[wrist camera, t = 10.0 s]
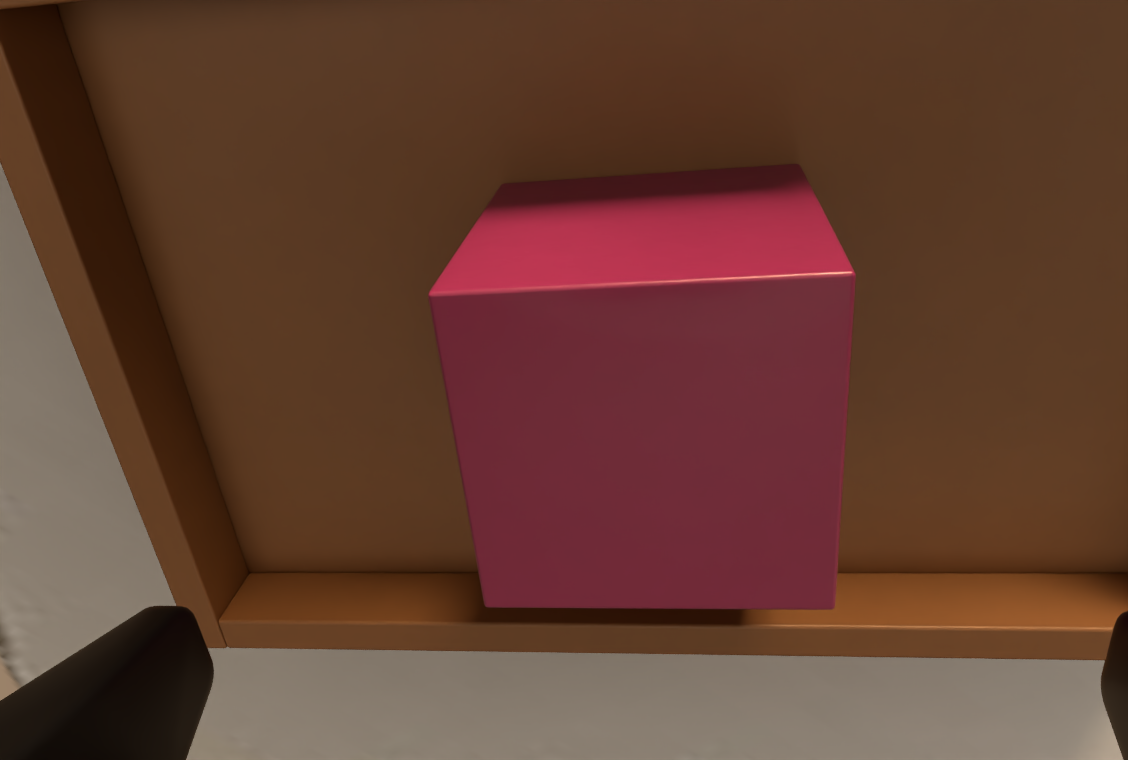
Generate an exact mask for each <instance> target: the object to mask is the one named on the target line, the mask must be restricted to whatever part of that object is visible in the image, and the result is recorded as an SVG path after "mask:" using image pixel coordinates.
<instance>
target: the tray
mask: <svg viewBox="0 0 1128 760" xmlns="http://www.w3.org/2000/svg"><path fill="white" fill-rule="evenodd" d="M0 162H1V165H2V167H3V170H4V172H5V175H6V178H7V180H8V183H9V185H10V188H11V190H12V193H13V195H14V198H15V200H16V203H17V205H18V208H19V210H20V213H21V215H22V218H23V220H24V223H25V225H26V228H27V230H28V233H29V235H30V238H31V240H32V243H33V245H34V248H35V250H36V253H37V256H38V258H39V261H40V263H41V266H42V268H43V271H44V273H45V276H46V278H47V281H48V283H49V286H50V288H51V291H52V293H53V296H54V298H55V301H56V303H57V306H58V308H59V311H60V313H61V316H62V318H63V321H64V323H65V326H66V328H67V331H68V334H69V336H70V339H71V341H72V344H73V346H74V349H75V351H76V354H77V356H78V359H79V361H80V364H81V366H82V369H83V371H84V374H85V376H86V379H87V381H88V384H89V386H90V389H91V391H92V394H93V396H94V399H95V401H96V404H97V406H98V409H99V412H100V414H101V417H102V419H103V422H104V424H105V427H106V429H107V432H108V434H109V437H110V439H111V442H112V444H113V447H114V449H115V452H116V454H117V457H118V459H119V462H120V464H121V467H122V469H123V472H124V474H125V477H126V479H127V482H128V484H129V487H130V490H131V492H132V495H133V497H134V500H135V502H136V505H137V507H138V510H139V512H140V515H141V517H142V520H143V522H144V525H145V527H146V530H147V532H148V535H149V537H150V540H151V542H152V545H153V547H154V550H155V552H156V555H157V557H158V560H159V562H160V565H161V568H162V570H163V573H164V575H165V578H166V580H167V583H168V585H169V588H170V590H171V593H172V595H173V598H174V600H175V603H176V605H177V606H183V607H186V608H188V609H189V610H191V611H192V612H193V614H194V616H195V618H196V620H197V623H198V625H199V628H200V630H201V633H202V636H203V638H204V641H205V643H206V646H207V648H226V647H227V646H228V647H230V648H287V649H357V650H427V651H498V652H568V653H638V654H708V655H778V656H848V657H919V658H989V659H1059V660H1106V656H1107V652H1108V648H1109V644H1110V640H1111V636H1112V633H1113V629H1114V625H1115V622H1116V620H1117V618H1118V617H1119V616H1120V614H1122V613H1123V612H1126V611H1128V0H0ZM786 164H799V165H800V166H801V168H802V170H803V172H804V174H805V176H806V178H807V180H808V182H809V184H810V186H811V188H812V190H813V191H814V193H815V195H816V197H817V199H818V201H819V203H820V205H821V207H822V209H823V211H824V213H825V215H826V217H827V219H828V221H829V223H830V225H831V227H832V229H833V231H834V233H835V234H836V236H837V238H838V240H839V242H840V244H841V246H842V248H843V250H844V252H845V254H846V256H847V258H848V260H849V262H850V264H851V266H852V268H853V270H854V272H855V274H856V281H855V297H854V314H853V330H852V346H851V362H850V378H849V394H848V410H847V426H846V442H845V458H844V474H843V490H842V506H841V522H840V538H839V554H838V570H837V587H836V603H835V607H834V609H832V610H790V609H637V608H488V607H486V606H485V605H484V600H483V595H482V589H481V584H480V578H479V573H478V567H477V562H476V556H475V551H474V545H473V540H472V534H471V529H470V523H469V518H468V512H467V507H466V501H465V496H464V491H463V485H462V480H461V474H460V469H459V463H458V458H457V452H456V447H455V441H454V436H453V430H452V425H451V419H450V414H449V408H448V403H447V397H446V392H445V386H444V381H443V376H442V370H441V365H440V359H439V354H438V348H437V343H436V337H435V332H434V326H433V321H432V315H431V310H430V304H429V299H428V294H429V291H430V290H431V288H432V287H433V285H434V284H435V282H436V281H437V279H438V278H439V276H440V275H441V273H442V272H443V270H444V269H445V267H446V266H447V265H448V263H449V262H450V260H451V259H452V257H453V256H454V254H455V253H456V251H457V250H458V248H459V247H460V245H461V244H462V242H463V241H464V239H465V238H466V236H467V235H468V233H469V232H470V230H471V229H472V227H473V226H474V224H475V223H476V221H477V220H478V218H479V217H480V215H481V214H482V212H483V211H484V209H485V208H486V206H487V205H488V203H489V202H490V201H491V199H492V198H493V196H494V195H495V193H496V192H497V190H498V189H499V187H500V186H501V185H502V184H505V183H520V182H535V181H550V180H564V179H579V178H594V177H609V176H623V175H638V174H653V173H668V172H683V171H697V170H712V169H727V168H742V167H757V166H771V165H786Z"/></svg>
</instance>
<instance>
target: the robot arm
mask: <svg viewBox="0 0 1128 760" xmlns="http://www.w3.org/2000/svg"><path fill="white" fill-rule="evenodd" d="M213 676H214V669H213V662H212V659H211V656H210V654H209V651H208V648H207V646H206V643H205V641H204V638H203V636H202V633H201V630H200V628H199V625H198V623H197V620H196V618H195V616H194V614H193V612H192V611H191V610H189V609H188V608H186V607H183V606H153V607H148V608H146V609H144V610H142V611H141V612H139V613H137V614H136V615H134V616H133V617H131V618H130V619H128V620H126V621H125V622H123V623H122V624H120V625H119V626H117V627H115V628H114V629H112V630H111V631H109V632H108V633H106V634H104V635H103V636H101V637H100V638H98V639H97V640H95V641H93V642H92V643H90V644H89V645H87V646H86V647H84V648H83V649H81V650H79V651H78V652H76V653H75V654H73V655H72V656H70V657H68V658H67V659H65V660H64V661H62V662H61V663H59V664H57V665H56V666H54V667H53V668H51V669H50V670H48V671H46V672H45V673H43V674H42V675H40V676H39V677H37V678H35V679H34V680H32V681H31V682H29V683H28V684H26V685H25V686H23V687H21V688H20V689H18V690H17V691H15V692H14V693H12V694H11V695H9V696H7V697H6V698H4V699H3V700H1V701H0V760H186V758H187V755H188V752H189V749H190V747H191V744H192V741H193V738H194V735H195V733H196V730H197V727H198V724H199V721H200V718H201V716H202V713H203V710H204V707H205V704H206V702H207V699H208V696H209V693H210V690H211V687H212V683H213ZM1101 692H1102V697H1103V702H1104V705H1105V708H1106V711H1107V714H1108V717H1109V719H1110V722H1111V725H1112V728H1113V731H1114V734H1115V736H1116V739H1117V742H1118V745H1119V748H1120V751H1121V753H1122V756H1123V759H1124V760H1128V611H1126V612H1123V613H1122V614H1120V616H1119V617H1118V618H1117V620H1116V622H1115V625H1114V629H1113V633H1112V636H1111V640H1110V644H1109V648H1108V652H1107V656H1106V660H1105V663H1104V667H1103V671H1102V676H1101Z"/></svg>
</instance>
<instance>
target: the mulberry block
mask: <svg viewBox="0 0 1128 760" xmlns="http://www.w3.org/2000/svg"><path fill="white" fill-rule="evenodd" d="M855 281H856V274H855V272H854V270H853V268H852V266H851V264H850V262H849V260H848V258H847V256H846V254H845V252H844V250H843V248H842V246H841V244H840V242H839V240H838V238H837V236H836V234H835V233H834V231H833V229H832V227H831V225H830V223H829V221H828V219H827V217H826V215H825V213H824V211H823V209H822V207H821V205H820V203H819V201H818V199H817V197H816V195H815V193H814V191H813V190H812V188H811V186H810V184H809V182H808V180H807V178H806V176H805V174H804V172H803V170H802V168H801V166H800V165H799V164H786V165H771V166H757V167H742V168H727V169H712V170H697V171H683V172H668V173H653V174H638V175H623V176H609V177H594V178H579V179H564V180H550V181H535V182H520V183H505V184H502V185H501V186H500V187H499V189H498V190H497V192H496V193H495V195H494V196H493V198H492V199H491V201H490V202H489V203H488V205H487V206H486V208H485V209H484V211H483V212H482V214H481V215H480V217H479V218H478V220H477V221H476V223H475V224H474V226H473V227H472V229H471V230H470V232H469V233H468V235H467V236H466V238H465V239H464V241H463V242H462V244H461V245H460V247H459V248H458V250H457V251H456V253H455V254H454V256H453V257H452V259H451V260H450V262H449V263H448V265H447V266H446V267H445V269H444V270H443V272H442V273H441V275H440V276H439V278H438V279H437V281H436V282H435V284H434V285H433V287H432V288H431V290H430V291H429V294H428V299H429V304H430V310H431V315H432V321H433V326H434V332H435V337H436V343H437V348H438V354H439V359H440V365H441V370H442V376H443V381H444V386H445V392H446V397H447V403H448V408H449V414H450V419H451V425H452V430H453V436H454V441H455V447H456V452H457V458H458V463H459V469H460V474H461V480H462V485H463V491H464V496H465V501H466V507H467V512H468V518H469V523H470V529H471V534H472V540H473V545H474V551H475V556H476V562H477V567H478V573H479V578H480V584H481V589H482V595H483V600H484V605H485V606H486V607H488V608H637V609H790V610H832V609H834V607H835V603H836V587H837V570H838V554H839V538H840V522H841V506H842V490H843V474H844V458H845V442H846V426H847V410H848V394H849V378H850V362H851V346H852V330H853V314H854V297H855Z"/></svg>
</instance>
